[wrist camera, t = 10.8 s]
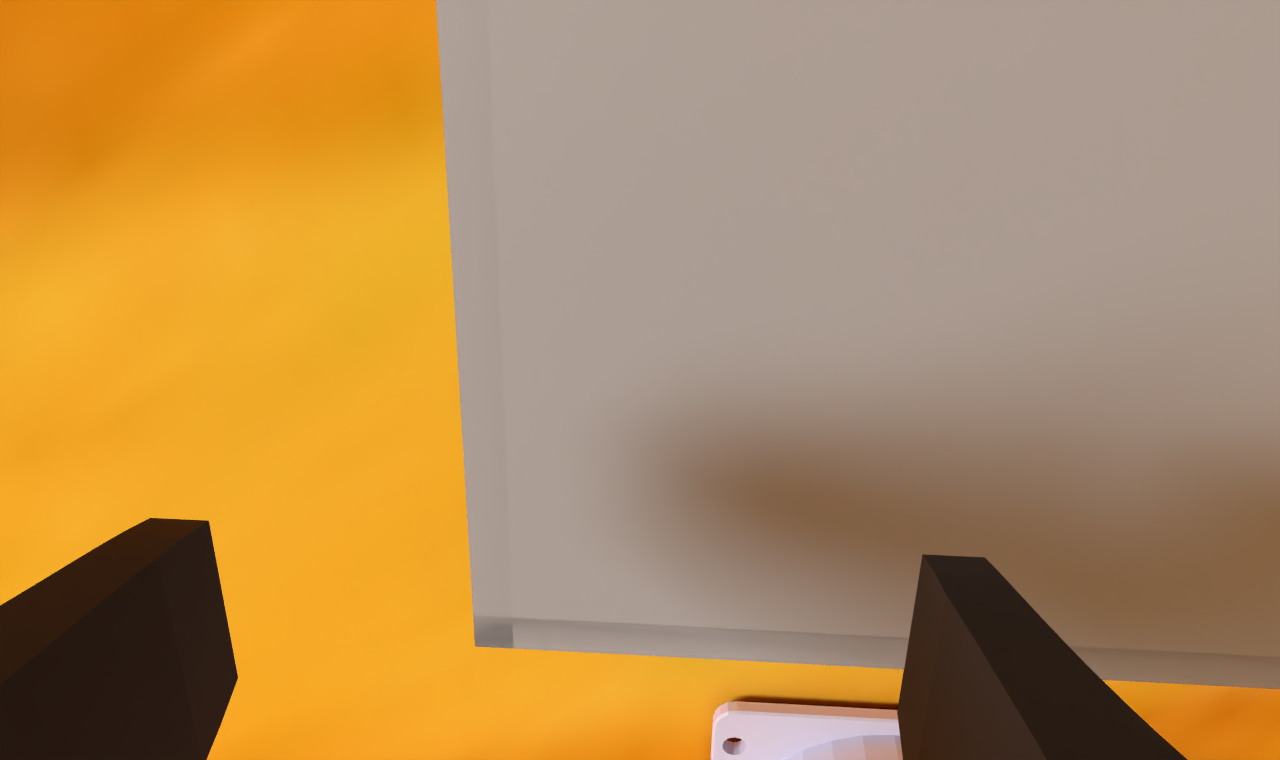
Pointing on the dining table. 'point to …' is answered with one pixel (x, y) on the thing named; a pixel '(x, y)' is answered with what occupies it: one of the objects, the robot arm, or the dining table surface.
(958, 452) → the carton
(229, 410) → the dining table surface
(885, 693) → the dining table surface
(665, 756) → the dining table surface
